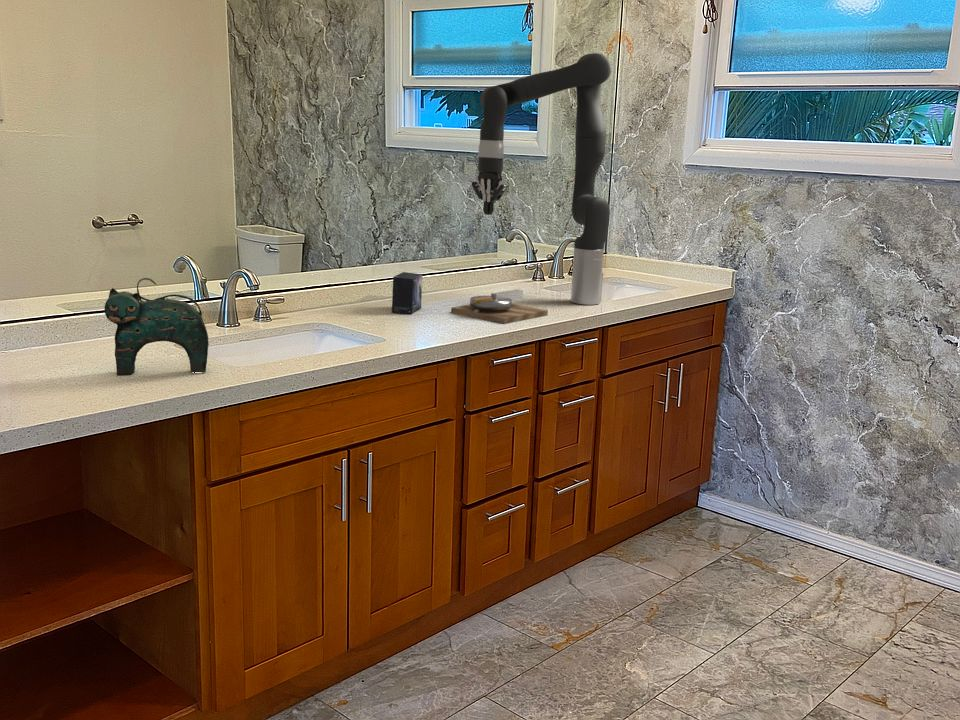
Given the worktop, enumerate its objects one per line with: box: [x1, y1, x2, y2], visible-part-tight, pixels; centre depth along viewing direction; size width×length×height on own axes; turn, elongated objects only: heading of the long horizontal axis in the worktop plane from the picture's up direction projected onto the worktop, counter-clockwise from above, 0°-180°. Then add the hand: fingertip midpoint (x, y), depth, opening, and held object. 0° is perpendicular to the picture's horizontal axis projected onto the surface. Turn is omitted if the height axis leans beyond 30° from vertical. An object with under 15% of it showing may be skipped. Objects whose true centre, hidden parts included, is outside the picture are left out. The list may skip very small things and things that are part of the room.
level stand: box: [450, 302, 549, 325], centre depth 277 cm, size 20×20×2 cm
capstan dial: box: [469, 289, 524, 310], centre depth 277 cm, size 20×12×4 cm, turn 137°
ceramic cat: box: [104, 277, 210, 376], centre depth 197 cm, size 20×6×20 cm, turn 103°
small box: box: [391, 271, 423, 315], centre depth 275 cm, size 11×6×10 cm, turn 168°
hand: (488, 214), depth 288 cm, fingers closed
